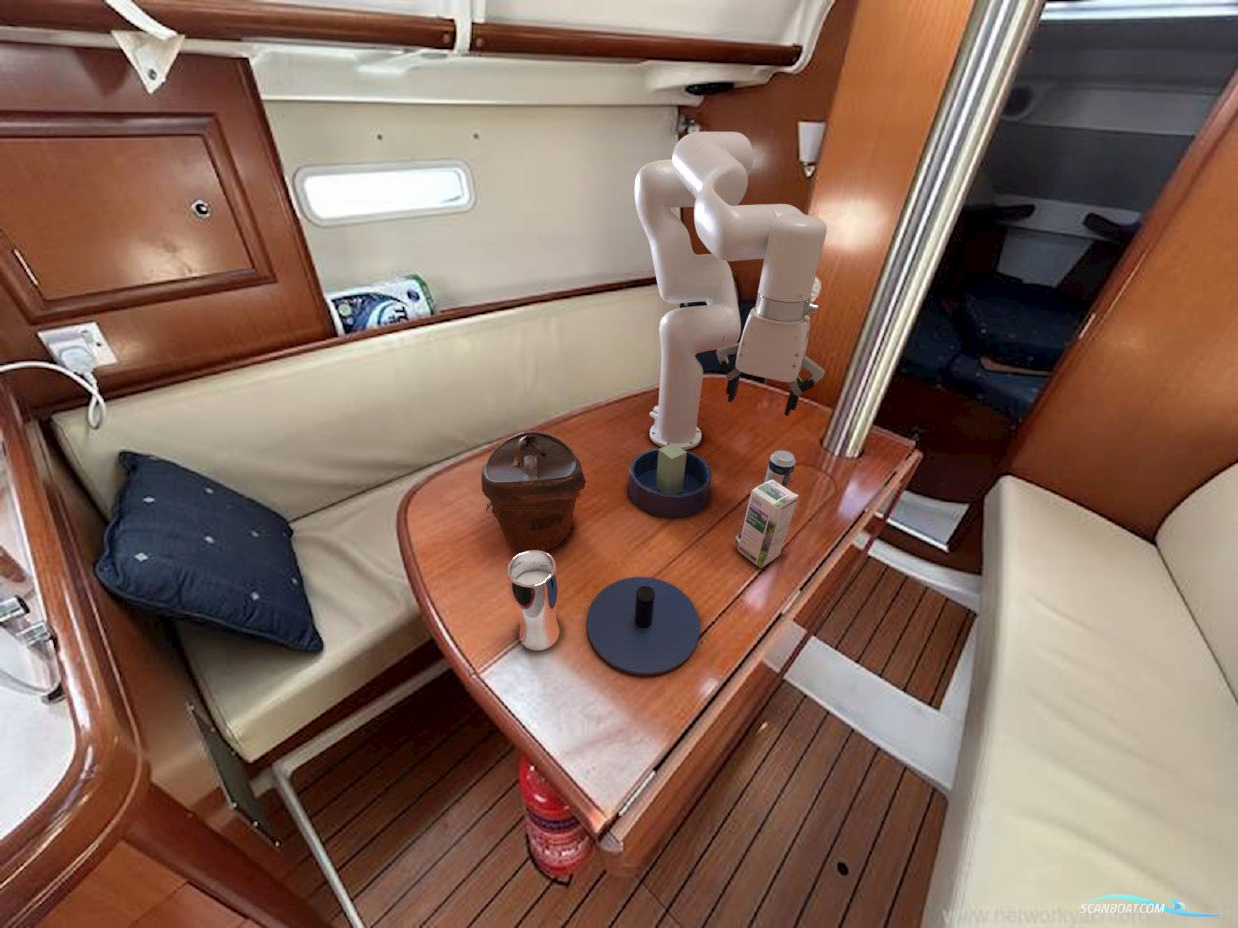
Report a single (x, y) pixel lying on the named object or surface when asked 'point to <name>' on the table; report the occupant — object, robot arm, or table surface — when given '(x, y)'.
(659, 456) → the block
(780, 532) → the syrup box
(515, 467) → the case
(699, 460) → the pot
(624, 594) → the lid
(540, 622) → the beer glass
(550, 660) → the table surface
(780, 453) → the pill bottle
